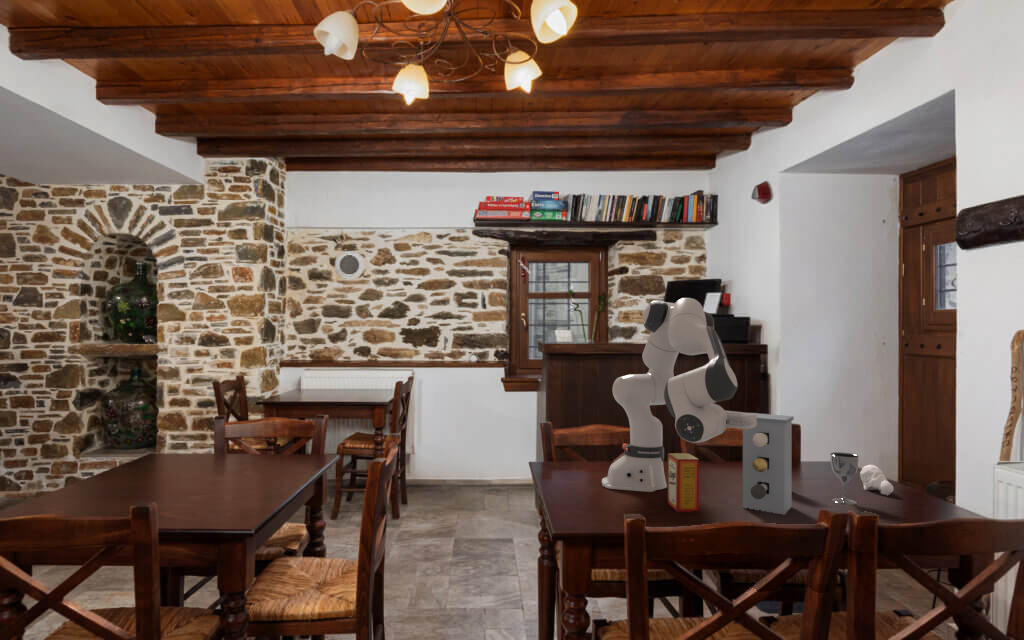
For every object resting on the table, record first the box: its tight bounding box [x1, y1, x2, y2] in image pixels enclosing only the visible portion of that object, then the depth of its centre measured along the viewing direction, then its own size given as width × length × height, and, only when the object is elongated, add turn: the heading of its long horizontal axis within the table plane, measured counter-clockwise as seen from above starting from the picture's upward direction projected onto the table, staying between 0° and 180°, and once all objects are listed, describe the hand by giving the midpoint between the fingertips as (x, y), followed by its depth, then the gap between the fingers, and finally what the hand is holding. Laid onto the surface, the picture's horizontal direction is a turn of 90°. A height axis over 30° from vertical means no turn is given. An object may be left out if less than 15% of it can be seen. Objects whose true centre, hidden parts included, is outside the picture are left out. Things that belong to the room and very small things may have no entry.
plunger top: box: [753, 433, 769, 447], centre depth 188 cm, size 10×4×4 cm, turn 145°
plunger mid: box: [753, 457, 769, 472], centre depth 188 cm, size 10×4×4 cm, turn 145°
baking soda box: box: [667, 452, 700, 513], centre depth 191 cm, size 10×6×16 cm
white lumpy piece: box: [859, 464, 894, 497], centre depth 211 cm, size 6×8×12 cm
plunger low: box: [751, 482, 769, 499], centre depth 186 cm, size 10×4×4 cm, turn 145°
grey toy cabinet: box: [742, 412, 795, 516], centre depth 192 cm, size 11×13×28 cm
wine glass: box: [830, 451, 860, 506], centre depth 199 cm, size 8×8×15 cm
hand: (725, 414), depth 178 cm, fingers closed
